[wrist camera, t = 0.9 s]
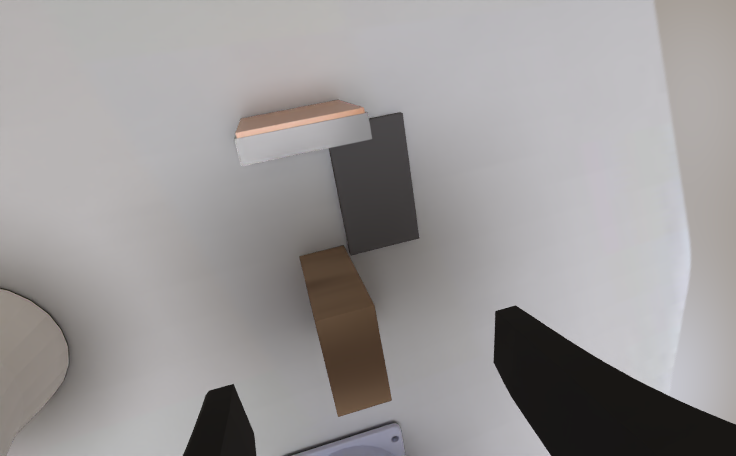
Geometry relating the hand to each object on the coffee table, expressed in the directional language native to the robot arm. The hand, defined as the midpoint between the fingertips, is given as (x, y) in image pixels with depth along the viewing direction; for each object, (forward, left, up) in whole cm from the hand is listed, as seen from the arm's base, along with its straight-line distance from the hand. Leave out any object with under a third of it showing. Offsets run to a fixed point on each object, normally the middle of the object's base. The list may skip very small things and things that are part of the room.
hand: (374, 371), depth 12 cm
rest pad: (+1, -3, -13) cm, 13 cm away
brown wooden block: (-4, 0, -13) cm, 14 cm away
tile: (+5, 0, -13) cm, 14 cm away
